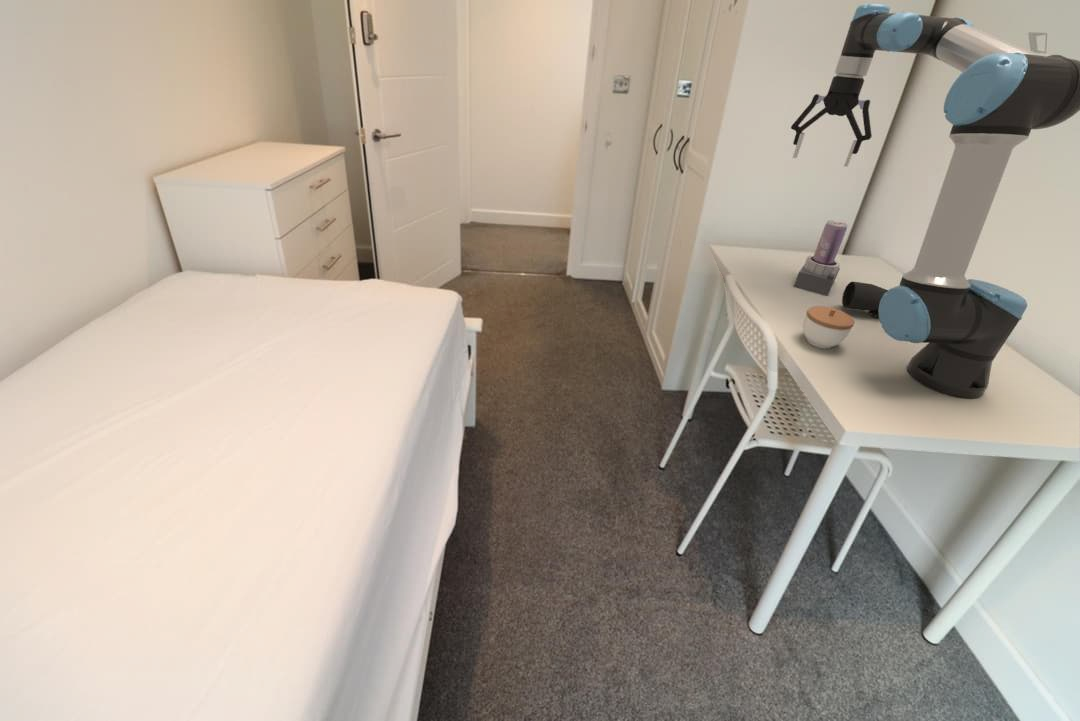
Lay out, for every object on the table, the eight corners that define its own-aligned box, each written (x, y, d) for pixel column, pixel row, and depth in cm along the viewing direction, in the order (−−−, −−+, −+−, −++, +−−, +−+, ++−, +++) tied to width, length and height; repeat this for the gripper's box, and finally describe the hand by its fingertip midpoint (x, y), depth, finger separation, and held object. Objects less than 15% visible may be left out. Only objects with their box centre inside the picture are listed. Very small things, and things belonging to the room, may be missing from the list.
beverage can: (833, 271, 160) (852, 224, 152) (823, 274, 157) (841, 227, 149) (815, 264, 164) (833, 219, 156) (805, 267, 161) (822, 221, 153)
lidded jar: (848, 356, 124) (864, 322, 119) (802, 349, 126) (816, 316, 121) (835, 335, 133) (849, 303, 128) (792, 329, 135) (805, 297, 130)
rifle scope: (947, 333, 140) (966, 300, 134) (847, 318, 143) (861, 286, 138) (930, 316, 148) (947, 285, 143) (836, 303, 152) (849, 272, 147)
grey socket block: (827, 295, 156) (837, 271, 152) (793, 286, 161) (802, 262, 156) (834, 282, 166) (843, 259, 162) (802, 274, 171) (810, 251, 166)
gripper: (904, 81, 130) (869, 167, 141) (802, 71, 141) (777, 152, 152) (903, 81, 124) (867, 171, 136) (796, 71, 135) (771, 155, 147)
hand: (819, 161), depth 144 cm, fingers open, 13 cm apart
